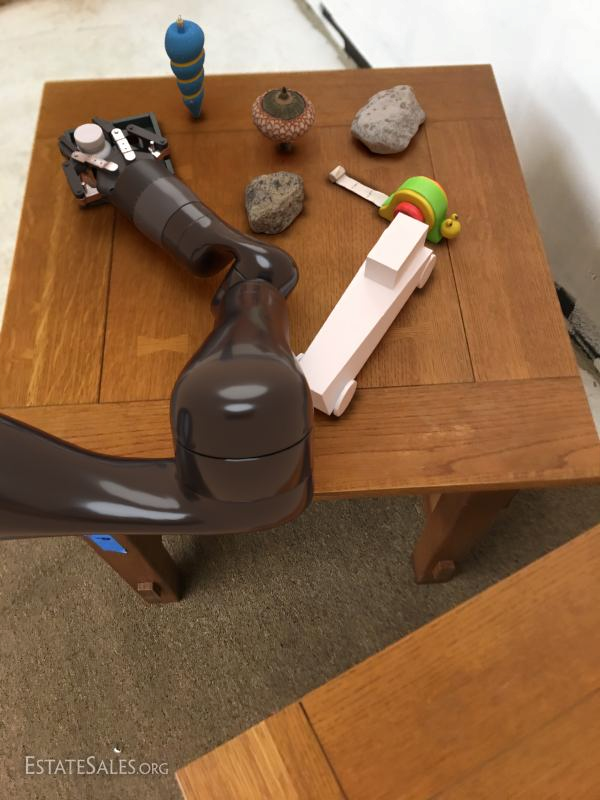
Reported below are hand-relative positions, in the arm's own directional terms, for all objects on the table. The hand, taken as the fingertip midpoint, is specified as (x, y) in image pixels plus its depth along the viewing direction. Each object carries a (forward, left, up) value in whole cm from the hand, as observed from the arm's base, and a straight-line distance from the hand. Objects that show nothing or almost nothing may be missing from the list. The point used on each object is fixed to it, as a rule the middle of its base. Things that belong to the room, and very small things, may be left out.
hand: (79, 133), depth 81 cm
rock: (+21, -13, -7) cm, 26 cm away
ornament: (+16, +7, -7) cm, 19 cm away
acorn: (+26, -3, -7) cm, 27 cm away
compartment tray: (+4, +1, -7) cm, 8 cm away
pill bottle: (+1, -2, -6) cm, 7 cm away
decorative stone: (+41, -4, -7) cm, 42 cm away
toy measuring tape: (+36, -18, -7) cm, 41 cm away
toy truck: (+25, -35, -7) cm, 44 cm away
